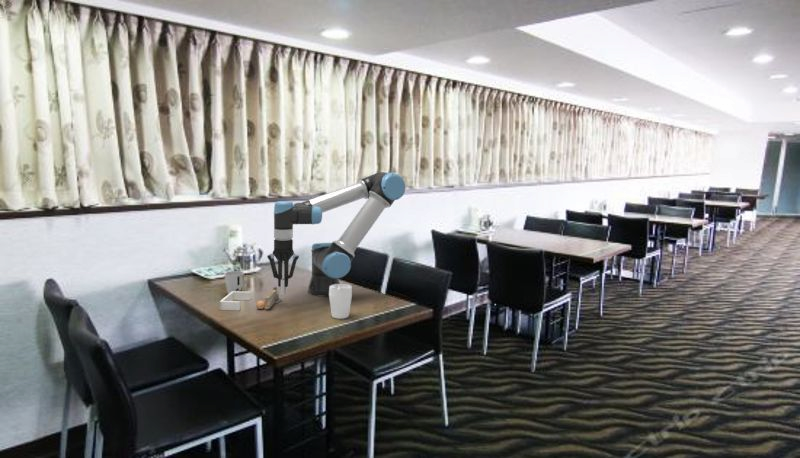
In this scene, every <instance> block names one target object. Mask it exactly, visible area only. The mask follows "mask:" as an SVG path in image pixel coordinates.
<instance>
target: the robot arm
mask: <svg viewBox="0 0 800 458" xmlns="http://www.w3.org/2000/svg"><path fill="white" fill-rule="evenodd" d="M405 192H406V183H405V180H404V178H403V177H402V176H401V175H399V174H398V173H395V172H383V171H380V172H376V173H374V174H371V175H369V176H366V177H364V178H361V179H359V180H358V181H357V183H353V184H351V185H348V186H345V187H343V188H339V189H336V190H334V191H331V192H328V193H325V194H322V195H319V196H317V197H314V198H310V199H309V200H304V201H302V202H295V203H293V202H292V201H286V200H282V201H281V200H280V201H279V200H278V201H275V203H274V206H273V251H272V253H270V254H268V255H266V257H267V259H268V261H269V263H270V267H271V272H272V275H273V276H272V277H273V279H276V280H277V281H278V282H277V283H278V284H277V285H278V287H279V288H280V296H285V295H286V292H287V291H286V288H287V287H288V286H289V279H291V278H293V276H294V272H295V268H296V265H297V261H298V260H299V258H300V255H297V254H296V253H295V251H294V250H293V249H294V247H293V245H294V243H293V242H294V241H293V238H294V237H293V236H294V234H293V232H294V225H319V224H321V222H322V220H323V213H326V212H328V211H331V210H334V209H337V208H339V207H343V206H345V205H348V204H351V203H353V202H355V201H359V200H361V199H365V200H366V201H365V203H364V204H363V206H362V207H361V208H360V209H359V211H358V212H357V214H356V215H355V216H354V218H353V219H352V220H351V222H350V224H348V226H347V227H346V229H345V230H344V231H343V233H342V234H341V235H340V237H339V238H338V240H334V241H332V242H317V243H313V244H312V246H311V276H310V280H309V284H308V287H307V293H308V294H311V296H312V295H313V296H319V297H322V296H323V297H329V287H330V286H331V285H334V284H341V283H340V280H339V279H341V278H344V277H345V276H346V275H348V274H349V272H350V270H351V268H352V262H353V260H354V259H355V251H356V249H357V248H358V246H360V244H361V243H362V241H363V239H365V237H366V235H367V234H368V233H369V232H370V230H371V229H372V227H373V225H375V223H376V222H377V220H378V218H380V216H381V215H382V213H383V212H384V210H385V209H387V208H390V207H391V206H392V205H393V203H394V202H395V201H397V200H399V199H401V198H402V197H403V196H404V194H405ZM291 258H292V262H291V267H290V270H289V261H290V260H291ZM275 259H276V260H277V265H276V262H275ZM276 266H277V267H276ZM283 266H284V269H283ZM283 273H284V274H283ZM283 275H284V276H283Z"/></svg>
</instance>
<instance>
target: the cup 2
mask: <svg viewBox="0 0 800 458" xmlns="http://www.w3.org/2000/svg"><path fill="white" fill-rule="evenodd" d="M352 289H353V286H352V285H351V284H347V283H340V284H334V285H331V286H330V287H329V296H328V297H329V298H328V299H329V305H330V306H329V307H330V311H331V317H332V318H334V319H338V320H340V319H341V320H342V319H347V318H349V317H350V309H351V303H352V297H353V290H352Z"/></svg>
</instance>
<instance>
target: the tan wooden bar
mask: <svg viewBox="0 0 800 458" xmlns="http://www.w3.org/2000/svg"><path fill="white" fill-rule="evenodd" d="M279 292H280V289H279V288H278V287H276V286H275V287H272V288H271V291H270V292H269V293H268V294H267V295H266V297H265V298H264V300H265V301H264V302H265V308H264V309H267V310H269V309H270V308H272V306H273V305H274V304H275V303H274V302H275V301H276V300H278V299H279V298H280V297H279V296H280V293H279Z"/></svg>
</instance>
